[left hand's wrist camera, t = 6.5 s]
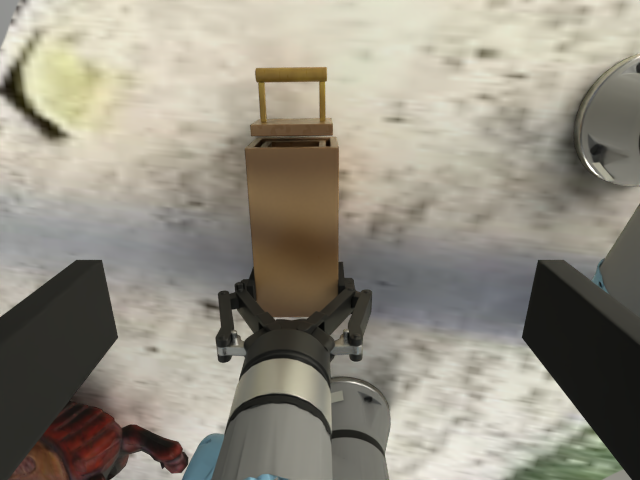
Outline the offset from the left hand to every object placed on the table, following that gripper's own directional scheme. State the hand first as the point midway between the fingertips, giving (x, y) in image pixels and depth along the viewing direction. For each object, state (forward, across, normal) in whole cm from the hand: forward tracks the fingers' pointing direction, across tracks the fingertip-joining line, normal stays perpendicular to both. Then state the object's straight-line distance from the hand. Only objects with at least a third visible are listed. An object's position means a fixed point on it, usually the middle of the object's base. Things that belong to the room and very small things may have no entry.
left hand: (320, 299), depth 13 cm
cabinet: (+41, -3, -11) cm, 42 cm away
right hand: (+38, -3, -17) cm, 42 cm away
